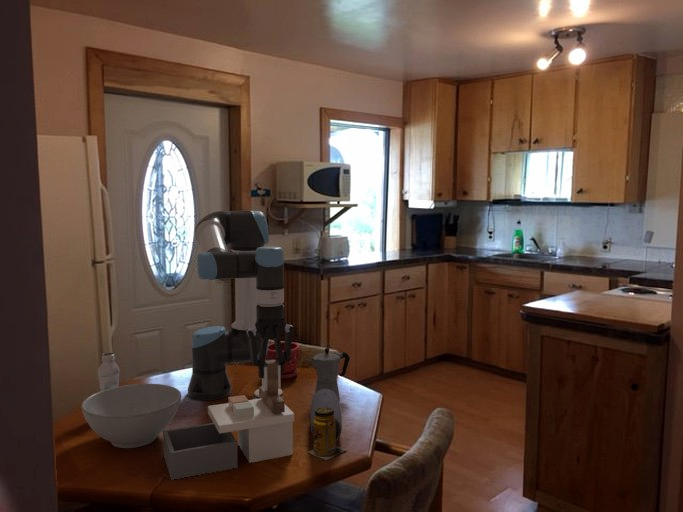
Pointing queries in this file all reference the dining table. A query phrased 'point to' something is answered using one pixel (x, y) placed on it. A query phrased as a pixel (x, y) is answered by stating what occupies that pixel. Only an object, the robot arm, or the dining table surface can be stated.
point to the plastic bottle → (108, 372)
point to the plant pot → (290, 366)
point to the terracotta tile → (236, 400)
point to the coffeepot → (329, 370)
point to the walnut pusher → (272, 389)
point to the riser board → (257, 430)
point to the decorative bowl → (131, 413)
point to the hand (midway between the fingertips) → (271, 388)
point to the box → (198, 450)
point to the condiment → (325, 434)
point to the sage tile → (243, 410)
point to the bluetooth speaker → (331, 401)
